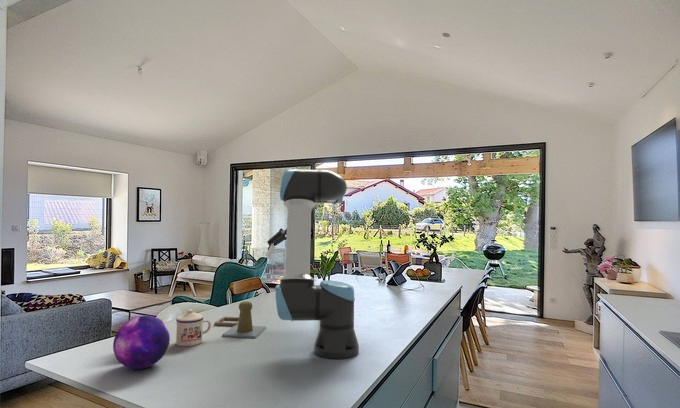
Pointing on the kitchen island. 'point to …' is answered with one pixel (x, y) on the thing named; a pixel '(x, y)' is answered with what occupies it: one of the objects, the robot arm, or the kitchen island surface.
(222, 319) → the walnut collar
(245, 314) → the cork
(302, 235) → the robot arm
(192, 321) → the teacup with lid
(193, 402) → the kitchen island surface
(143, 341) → the decorative orb
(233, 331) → the slate coaster
